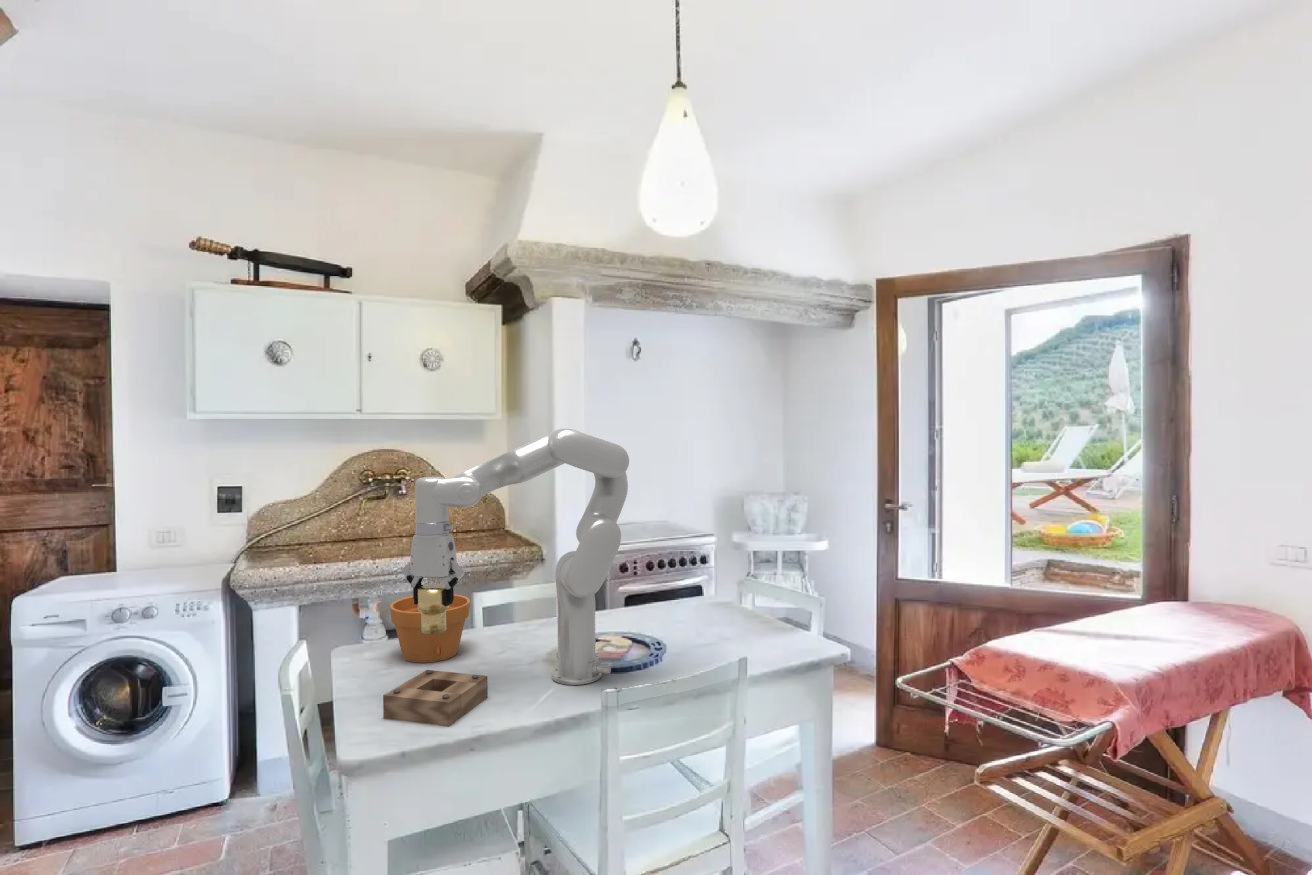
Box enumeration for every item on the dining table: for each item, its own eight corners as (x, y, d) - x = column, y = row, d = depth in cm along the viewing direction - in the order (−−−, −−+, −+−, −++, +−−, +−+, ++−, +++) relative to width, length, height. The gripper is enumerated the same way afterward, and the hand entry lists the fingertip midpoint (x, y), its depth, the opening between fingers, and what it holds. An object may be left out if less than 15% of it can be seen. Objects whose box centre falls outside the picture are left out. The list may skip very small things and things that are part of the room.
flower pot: (474, 640, 206) (473, 591, 205) (466, 664, 185) (465, 609, 185) (399, 645, 202) (398, 594, 202) (382, 669, 181) (382, 613, 181)
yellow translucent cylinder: (454, 626, 167) (454, 584, 167) (439, 635, 160) (438, 591, 160) (428, 625, 168) (428, 583, 168) (412, 633, 162) (411, 590, 161)
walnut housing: (487, 701, 160) (487, 673, 160) (449, 731, 144) (448, 700, 144) (427, 694, 164) (426, 667, 164) (383, 722, 149) (383, 692, 149)
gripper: (473, 527, 166) (474, 601, 166) (408, 525, 170) (409, 598, 170) (457, 532, 158) (458, 609, 159) (390, 530, 162) (391, 606, 163)
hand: (433, 603), depth 164 cm, fingers closed on yellow translucent cylinder, 7 cm apart
